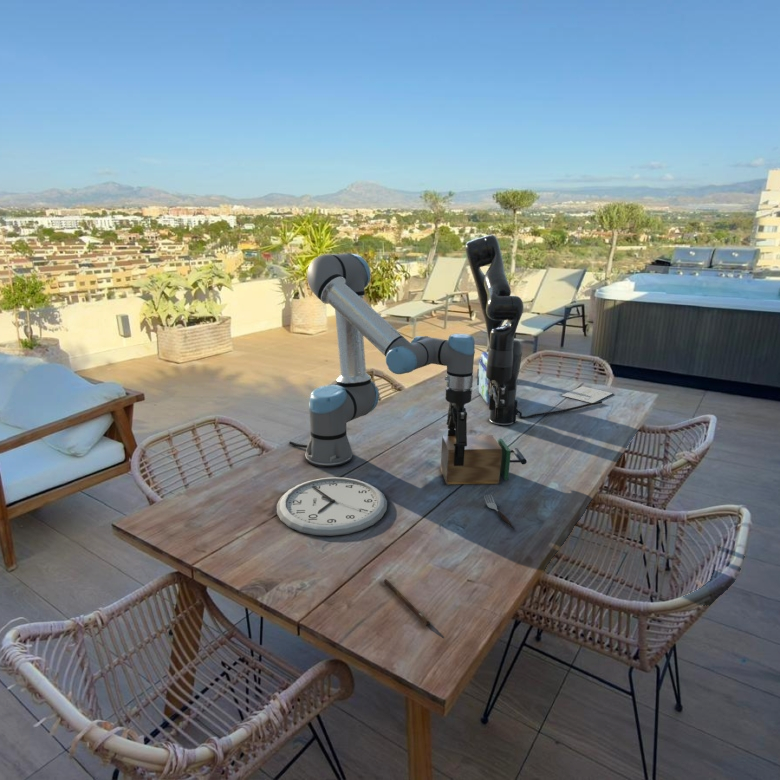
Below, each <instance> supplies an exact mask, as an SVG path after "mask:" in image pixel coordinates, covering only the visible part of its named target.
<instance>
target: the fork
mask: <svg viewBox="0 0 780 780" xmlns="http://www.w3.org/2000/svg"><path fill="white" fill-rule="evenodd" d="M483 497H484V501H485V504H486V506H487V508H489V509H491V510H495V511H496V512H497V514H498V515H499V517H500V518H501V519H502V520H503V522H505V523H506V525H508V526H509V527H510V528H511V529H513V530H516V528H515V527H514V525H513V524H512V523H511V521H510V520H509V519H508V517H507V516H506V515H505V514H503V513H502V512H501V511H500V510H498V506H497V504H496V502H495V499H494V497H493V496H492V494H490V493H489V494H485V495H483Z"/></svg>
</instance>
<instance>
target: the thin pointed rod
mask: <svg viewBox="0 0 780 780" xmlns="http://www.w3.org/2000/svg"><path fill="white" fill-rule="evenodd" d="M383 583H384V585H385V586H386V587H387V588H388V589H389V590H390V591H391V592H392V593H394V595H395V596H397V598H398V599H399V600H401V601H402V603H403V604H404V605H405V606H406V607H407V608H408V609H409V610H410V611H411V612H412V613H413V614H414V615H415V616H416V617H417V618H418V619H419V620H420V621H421V622H422V623H423V624H424V625H425V626H426V627H427V626H428V625H429V620H428V619H427V618H426V617H425V616H424V615H423V614H422V613H421V612H420V611H419V610H418V609H417V608H416V607H415V606H414V605H413V604H412V603H411V602H410V601H409V600H408V599H407V598H406V597H405V596H404V595H403V594H402V593H401V592H400V591H399V590H398V589H397V588H396V587H395V586H394V585H393V584H392V583H391V582H390V581H389V580H388V579H386V578H384V581H383Z"/></svg>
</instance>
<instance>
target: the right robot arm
mask: <svg viewBox="0 0 780 780" xmlns="http://www.w3.org/2000/svg"><path fill="white" fill-rule="evenodd" d="M464 250H465V256H466V259H467V262H468V265H469V269H470V271H471V274H472V278H473V281H474V283H475V288H476V292H477V297H478V301H479V305H480V309H481V312H482V317H483V319H484V323H485V324H484V325H485V328H486V333H487V340H488V346H489V351H488V357H487V370H486V377H487V378H488V379H489V386H488V394H489V398H490V399H489V405H488V410H489V411H490V413H489V414H490V415H489V422H490V423H491V424H494V425H497V426H511V425H513V424H516V423H517V416H519V418H520V419H529V418H533V417H539V416H546V415H553V414H560V413H564V412H569V411H574V410H578V409H581V408H586V407H590V406H594V405H600V404H603V401H602V400H599V401H597V402H594V403H589V402H588V403H585V404H581V405H576V406H572V407H569V408H564V409H558V410H552V411H547V412H539V413H538V412H537V413H532V414H529V415H527V416H526V415H525V416H523V413H522V411H520V410H519V409H518V399H517V388H518V378H519V375H520V370H521V361H522V356H523V344H522V342H521V341H519V340H517V339H515V335H516V331H517V329H518V326H519V323H520V320H521V318H522V316H523V312H524V306H525V305H524V301H523V300H522V298H521V297H520V296H517V295H511V294H512V289H511V286H510V283H509V281H508V278H507V275H506V272H505V271H506V270H505V264H504V258H503V254H502V250H501V246H500V242H499V240H498V239H497V237H496V236H495V235H493V234H488V235H484V236H482V237H478V238H475V239H472V240H469V241H467V242H466V243H465V246H464ZM486 266H489V267H488V268H487V270H486V272H485V273H484V271H482V269H481V268H482V267H486ZM505 321H506V323H505V324H504V322H505ZM503 324H504V325H503Z"/></svg>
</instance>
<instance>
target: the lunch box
mask: <svg viewBox="0 0 780 780" xmlns="http://www.w3.org/2000/svg"><path fill="white" fill-rule="evenodd" d="M487 357H488V352H487V351H482V352H481V354H480V358H479V360H478V369H479V377H478V378H477V381H476V384H477V385H476V386H478V393H479V395H480V396H481V397H482V399H483V400H484V402H485V404H487V405H488V406H489V399H490V398H489V394H488V386H489V379H488V378H487V377H486V370H487Z"/></svg>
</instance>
